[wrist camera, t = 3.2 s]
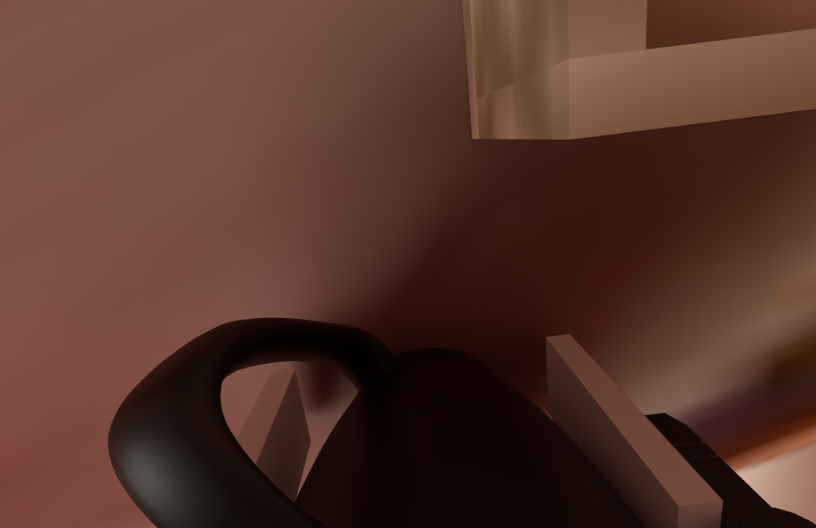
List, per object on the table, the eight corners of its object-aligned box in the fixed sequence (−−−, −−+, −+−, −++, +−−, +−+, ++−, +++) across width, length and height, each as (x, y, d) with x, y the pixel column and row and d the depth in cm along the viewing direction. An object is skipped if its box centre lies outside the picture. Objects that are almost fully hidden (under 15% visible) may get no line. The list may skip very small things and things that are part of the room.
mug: (412, 158, 13) (477, 212, 4) (584, 445, 16) (855, 865, 7) (190, 301, 14) (-215, 636, 4) (395, 544, 17) (403, 1037, 8)
